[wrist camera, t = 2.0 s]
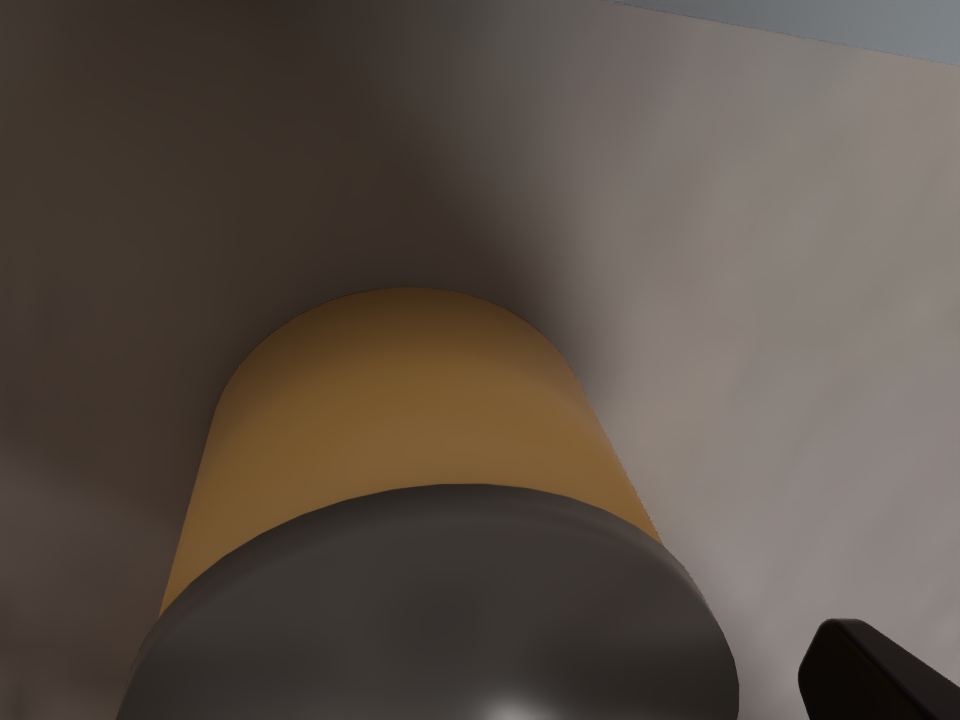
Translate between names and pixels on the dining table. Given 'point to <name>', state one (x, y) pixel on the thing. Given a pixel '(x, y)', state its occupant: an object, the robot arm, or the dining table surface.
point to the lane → (840, 22)
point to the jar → (421, 539)
